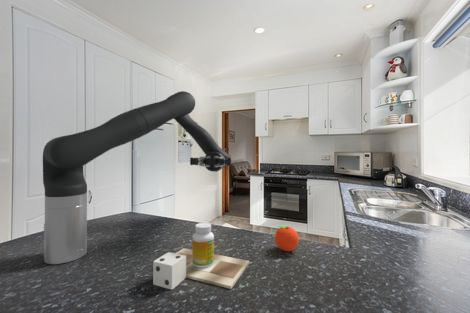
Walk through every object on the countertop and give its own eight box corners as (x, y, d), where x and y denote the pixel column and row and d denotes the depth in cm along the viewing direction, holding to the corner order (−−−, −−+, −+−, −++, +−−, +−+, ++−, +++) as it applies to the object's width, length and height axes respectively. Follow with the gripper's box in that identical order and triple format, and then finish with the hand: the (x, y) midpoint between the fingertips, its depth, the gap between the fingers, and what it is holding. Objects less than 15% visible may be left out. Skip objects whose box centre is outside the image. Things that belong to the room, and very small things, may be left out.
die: (152, 284, 47) (153, 261, 47) (168, 273, 52) (168, 251, 52) (171, 290, 45) (171, 265, 45) (186, 277, 50) (186, 255, 50)
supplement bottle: (210, 269, 52) (210, 229, 52) (188, 267, 53) (189, 227, 53) (216, 259, 57) (216, 222, 57) (197, 257, 58) (197, 221, 58)
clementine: (267, 251, 64) (268, 226, 64) (276, 243, 70) (276, 221, 70) (294, 257, 60) (294, 231, 60) (301, 248, 66) (301, 225, 66)
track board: (154, 269, 53) (154, 266, 53) (183, 250, 65) (183, 247, 65) (231, 289, 46) (231, 285, 46) (249, 263, 57) (249, 260, 57)
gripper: (197, 151, 87) (186, 149, 71) (233, 152, 86) (230, 150, 70) (197, 170, 87) (186, 172, 71) (232, 171, 86) (229, 173, 70)
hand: (208, 161), depth 70 cm, fingers open, 8 cm apart
